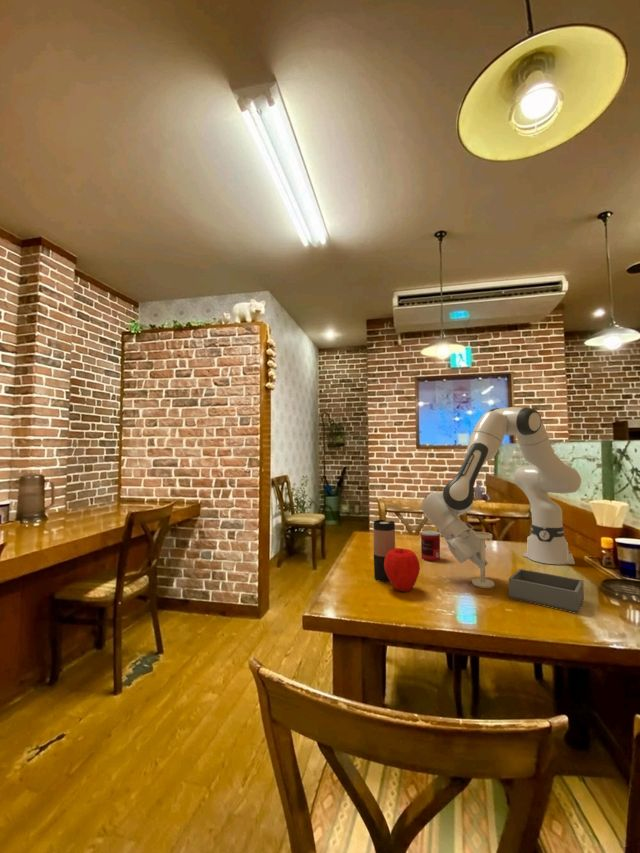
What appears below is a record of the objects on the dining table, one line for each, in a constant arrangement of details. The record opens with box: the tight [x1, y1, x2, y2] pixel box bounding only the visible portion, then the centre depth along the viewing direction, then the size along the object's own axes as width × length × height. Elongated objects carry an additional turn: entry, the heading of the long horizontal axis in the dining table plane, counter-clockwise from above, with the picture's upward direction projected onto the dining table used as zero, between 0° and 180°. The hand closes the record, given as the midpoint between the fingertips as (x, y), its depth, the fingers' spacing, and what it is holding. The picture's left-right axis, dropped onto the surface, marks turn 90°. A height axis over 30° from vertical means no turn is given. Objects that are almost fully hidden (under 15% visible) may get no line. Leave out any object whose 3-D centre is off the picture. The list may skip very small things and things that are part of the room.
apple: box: [384, 547, 421, 593], centre depth 130 cm, size 12×12×13 cm
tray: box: [508, 568, 585, 614], centre depth 122 cm, size 13×18×6 cm
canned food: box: [420, 530, 441, 562], centre depth 165 cm, size 8×8×11 cm
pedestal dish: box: [471, 531, 495, 589], centre depth 134 cm, size 7×7×17 cm
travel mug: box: [373, 519, 396, 583], centre depth 141 cm, size 8×8×20 cm
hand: (484, 566), depth 134 cm, fingers closed
